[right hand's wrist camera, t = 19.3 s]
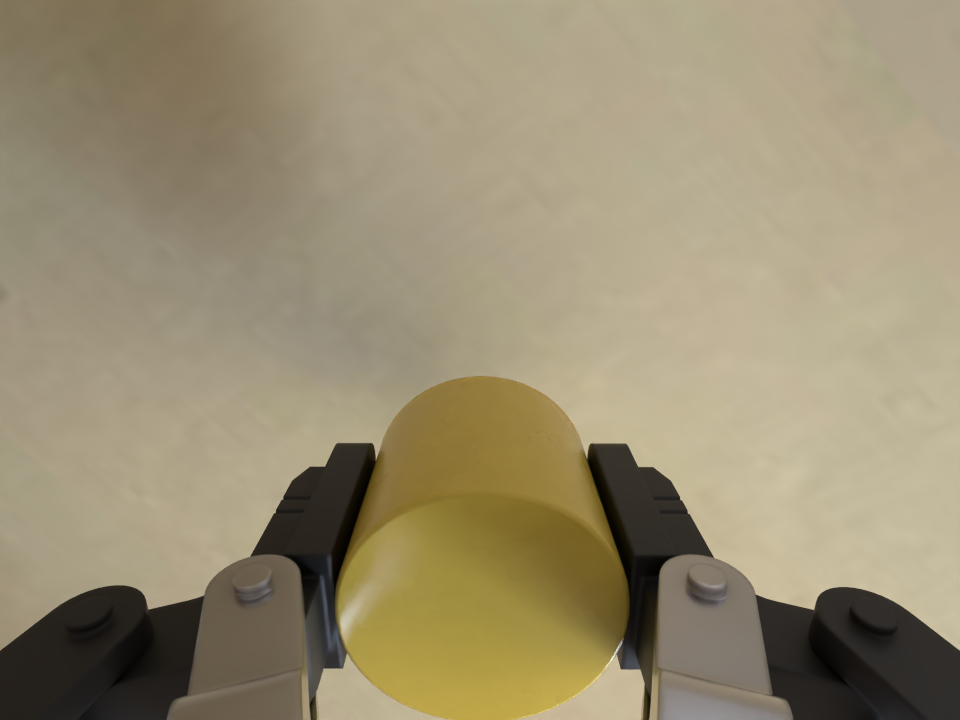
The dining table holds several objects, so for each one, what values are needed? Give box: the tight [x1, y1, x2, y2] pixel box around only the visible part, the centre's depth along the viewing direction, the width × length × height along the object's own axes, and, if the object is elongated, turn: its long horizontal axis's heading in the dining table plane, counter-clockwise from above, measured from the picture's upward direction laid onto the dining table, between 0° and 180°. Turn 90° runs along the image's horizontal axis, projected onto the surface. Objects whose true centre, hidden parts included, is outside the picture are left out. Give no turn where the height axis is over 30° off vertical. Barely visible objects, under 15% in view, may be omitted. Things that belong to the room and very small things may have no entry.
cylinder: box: [334, 376, 630, 720], centre depth 11 cm, size 4×4×4 cm
